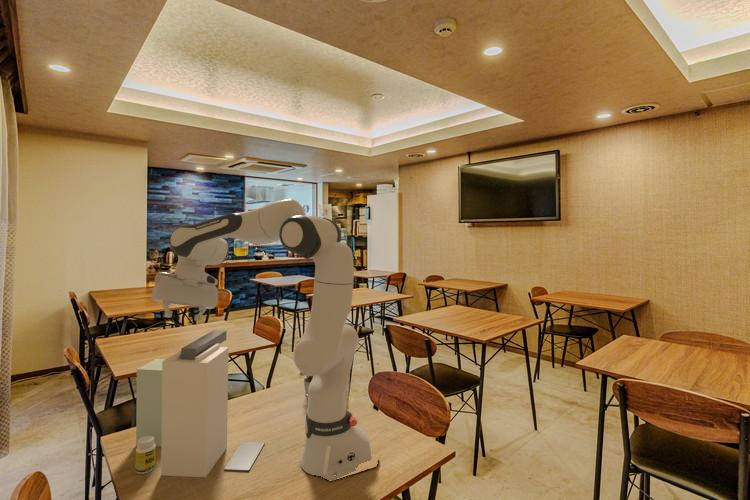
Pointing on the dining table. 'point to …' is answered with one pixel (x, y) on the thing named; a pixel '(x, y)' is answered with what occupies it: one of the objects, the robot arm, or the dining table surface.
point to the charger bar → (202, 344)
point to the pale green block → (149, 401)
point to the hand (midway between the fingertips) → (183, 318)
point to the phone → (244, 456)
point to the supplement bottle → (145, 455)
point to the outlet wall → (194, 412)
